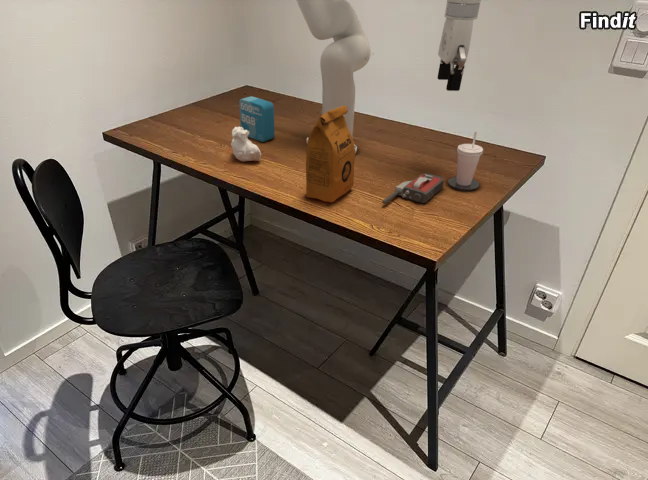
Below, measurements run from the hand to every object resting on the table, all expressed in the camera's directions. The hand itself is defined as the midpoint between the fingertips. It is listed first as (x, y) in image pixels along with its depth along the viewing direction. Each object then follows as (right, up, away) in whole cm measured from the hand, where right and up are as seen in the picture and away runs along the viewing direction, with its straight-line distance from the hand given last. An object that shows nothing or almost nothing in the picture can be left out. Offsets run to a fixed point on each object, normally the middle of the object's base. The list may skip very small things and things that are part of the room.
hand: (447, 84), depth 132 cm
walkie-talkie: (-8, -29, +1) cm, 30 cm away
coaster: (+6, -25, +6) cm, 26 cm away
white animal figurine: (-54, -14, +23) cm, 60 cm away
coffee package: (-30, -28, +3) cm, 41 cm away
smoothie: (+6, -24, +6) cm, 26 cm away
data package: (-51, -3, +39) cm, 64 cm away
